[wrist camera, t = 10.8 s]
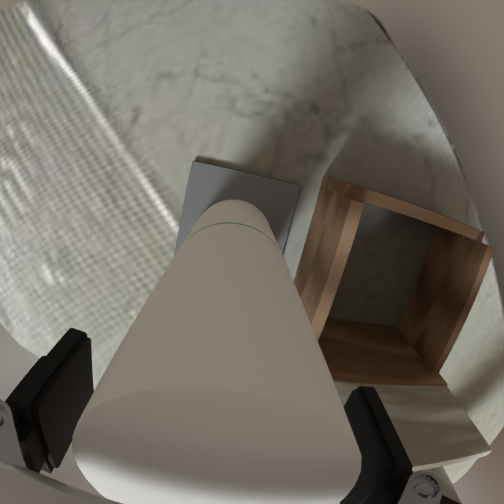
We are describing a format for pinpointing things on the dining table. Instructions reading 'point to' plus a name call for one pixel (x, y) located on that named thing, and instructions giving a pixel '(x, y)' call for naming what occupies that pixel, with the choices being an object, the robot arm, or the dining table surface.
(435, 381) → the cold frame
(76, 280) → the dining table surface
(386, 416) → the robot arm
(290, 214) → the slate mat
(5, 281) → the dining table surface
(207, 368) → the cylindrical container
